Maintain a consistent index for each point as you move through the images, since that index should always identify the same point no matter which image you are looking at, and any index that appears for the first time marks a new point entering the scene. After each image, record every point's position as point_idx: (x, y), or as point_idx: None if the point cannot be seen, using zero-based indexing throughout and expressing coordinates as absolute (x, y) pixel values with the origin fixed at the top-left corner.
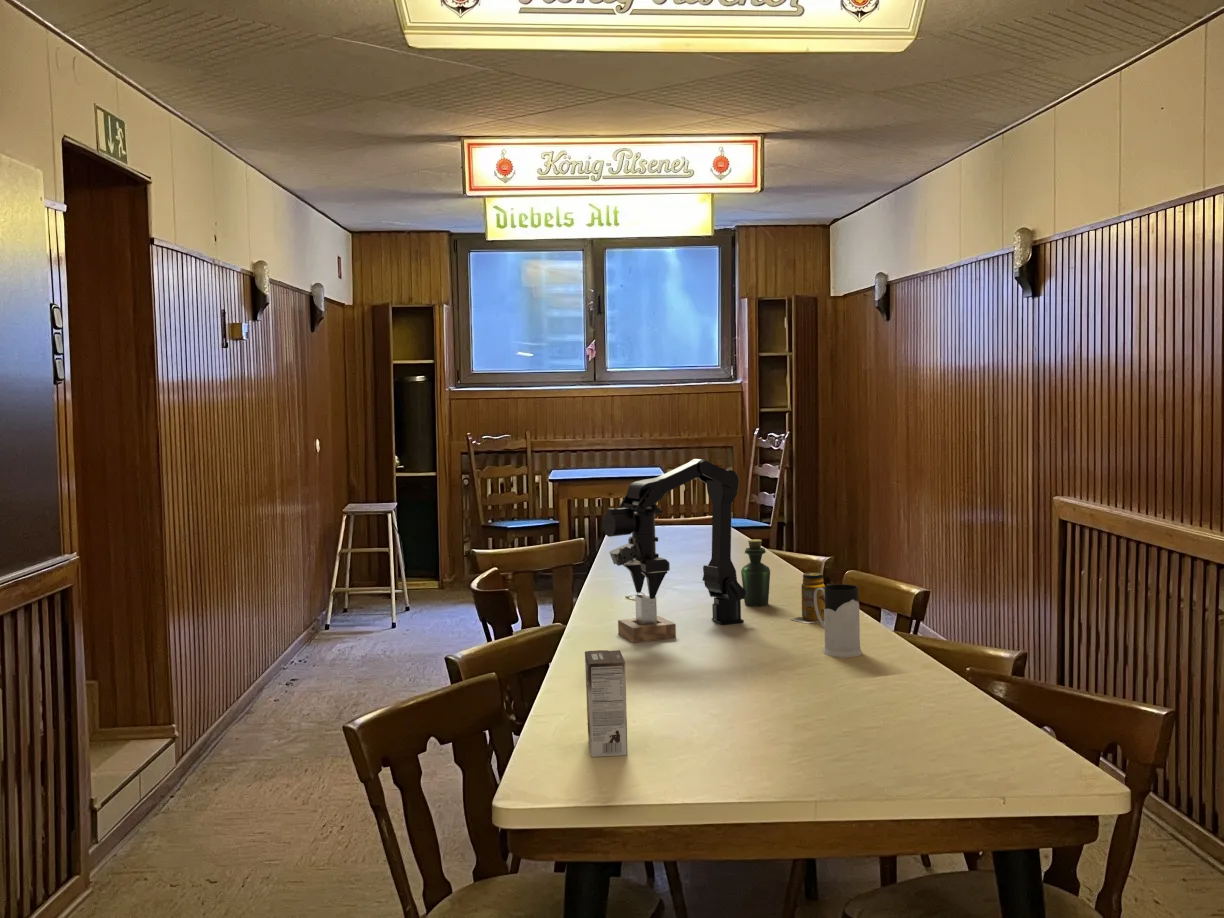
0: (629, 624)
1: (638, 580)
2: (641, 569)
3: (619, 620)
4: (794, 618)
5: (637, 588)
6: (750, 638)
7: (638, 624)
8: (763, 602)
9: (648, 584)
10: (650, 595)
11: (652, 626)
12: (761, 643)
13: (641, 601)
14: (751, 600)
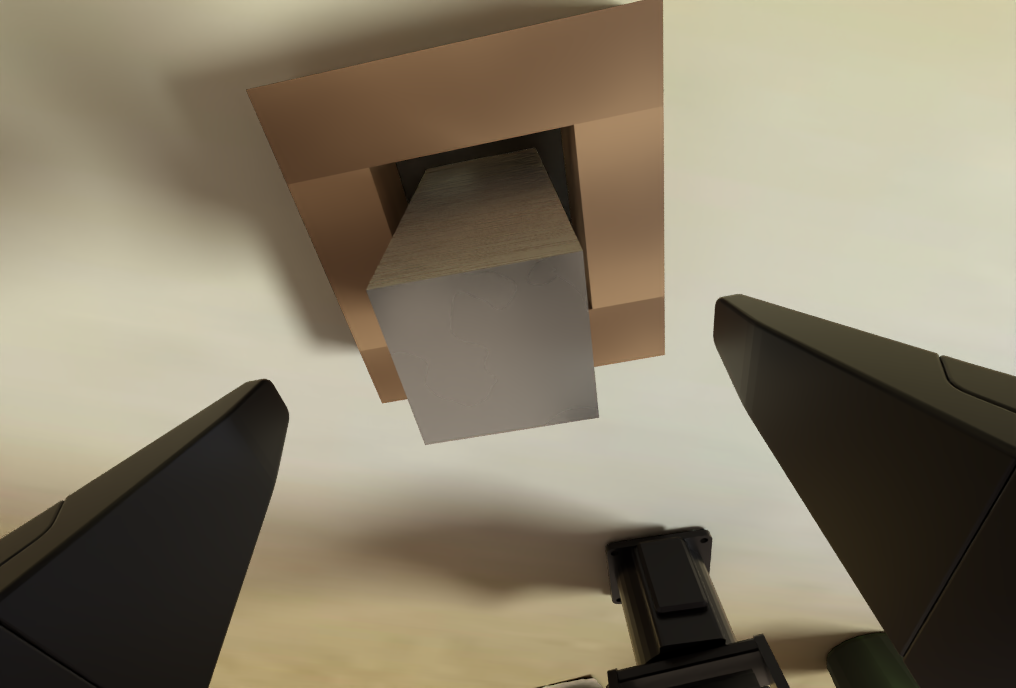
0: (420, 80)
1: (822, 430)
2: (996, 678)
3: (631, 8)
4: (592, 685)
5: (739, 334)
6: (343, 575)
7: (490, 175)
8: (831, 672)
9: (39, 522)
10: (216, 407)
11: (320, 259)
12: (257, 586)
13: (375, 274)
14: (858, 662)
